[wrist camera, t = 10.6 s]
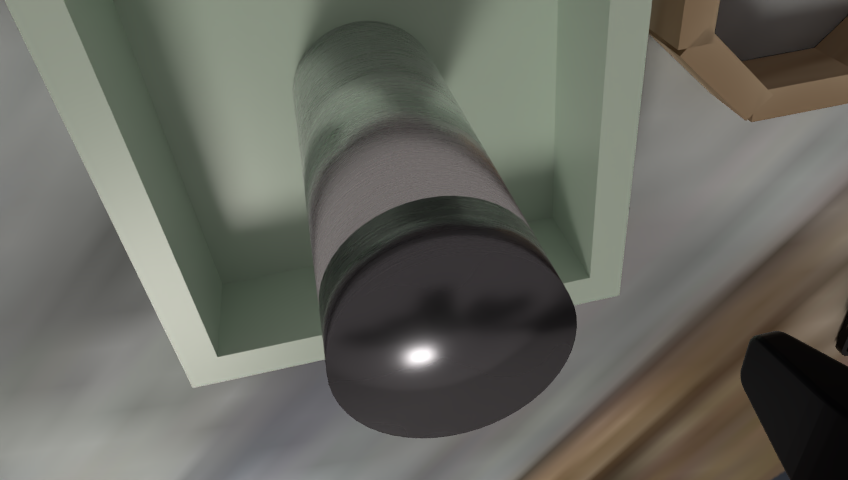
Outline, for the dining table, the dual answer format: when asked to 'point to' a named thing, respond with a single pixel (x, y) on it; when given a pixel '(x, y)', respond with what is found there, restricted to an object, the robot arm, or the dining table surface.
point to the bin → (280, 156)
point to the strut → (418, 246)
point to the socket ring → (752, 64)
